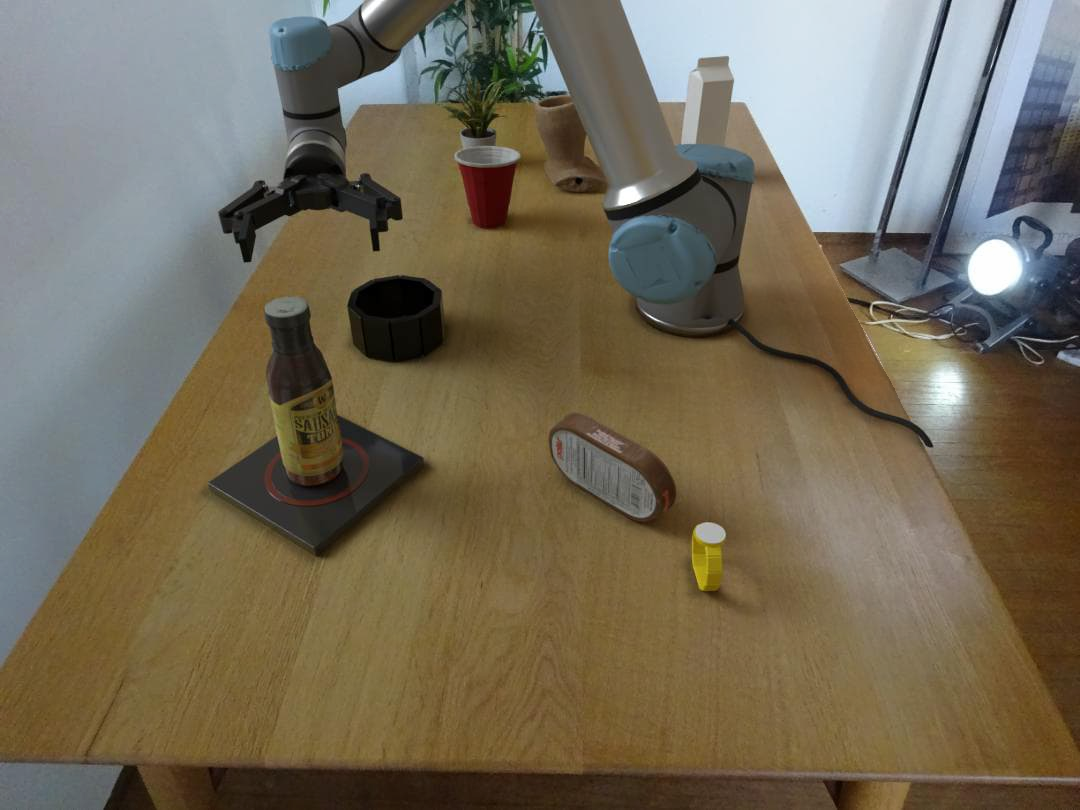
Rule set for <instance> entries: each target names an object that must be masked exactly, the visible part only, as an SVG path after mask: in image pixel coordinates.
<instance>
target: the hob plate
mask: <svg viewBox="0 0 1080 810" xmlns="http://www.w3.org/2000/svg"><path fill="white" fill-rule="evenodd" d="M337 415H338V414H337ZM338 421H339V428H340V434H341V441H342V448H343V466H342V468H341V470H340V472H339V473H338V475H337V476H336V477H335V478H334V479H332V480H330V481H329V482H326V483H324V484H320V485H315V486H301V485H299V484H296V483H294V482H293V481H291V480H290V479H289V477H288V475H287V473H286V471H285V466H284V465H283V461H282V457H281V452H280V447H279V442H278V437H277V435H276V436H274V437H273V438H272V439H269V441H268V442H265V443H264V444H263V445H262V446H260V447H258V448H257V449H255V450H254V451H253V452H251V453H249V454H248V455H246V456H245V457H244V458H242V459H241V460H239V461H237V462H236V463H235V464H233V465H231V466H230V467H228V468H227V469H225V471H223V472H221V473H220V474H218V475H217V476H215V477H214V478H212V479H211V480H210V481H208V482H207V486H208V488H209V491H210V492H211V493H213V494H214V495H216V496H217V497H219V498H221V499H222V500H224V501H226V502H227V503H229V504H231V505H232V506H234V507H236V508H237V509H239V510H240V511H242V512H244V513H245V514H247V515H249V516H250V517H252V518H253V519H255V520H257V521H258V522H259V523H261V524H264V526H266V527H268V528H270V529H271V530H273V531H275V532H276V533H278V534H280V535H281V536H282V537H284V538H286V539H288V540H289V541H291V542H293V543H294V544H296V545H297V546H298V547H301V548H302V549H303V550H305V551H307V552H308V553H310V554H312V555H313V556H315V557H317V556H318V555H319V554H321V553H322V552H323V551H324V550H325V549H327V548H328V547H329V546H330V545H332V544H333V543H334V542H335V541H336V540H337V539H339V538H340V537H341V536H342V535H344V533H346V532H347V531H348V530H350V529H351V528H352V527H353V526H354V525H355V524H357V523H358V522H359V521H360V520H361V519H362V518H364V517H365V516H366V515H368V514H369V513H370V512H371V511H372V510H373V509H375V508H376V507H377V506H378V505H379V504H380V503H382V502H383V501H385V499H387V497H389V496H390V495H391V494H393V492H395V491H396V490H397V489H398V488H399V487H401V486H402V485H403V484H405V483H406V482H407V481H408V480H409V479H410V478H411V477H412V476H414V475H415V474H416V473H418V472H419V471H420V470H421V469H422V468H424V467H425V458H424V457H423V456H421V455H419V454H417V453H415V452H413V451H411V450H409V449H407V448H405V447H403V446H401V445H399V444H397V443H396V442H393V441H391V440H389V439H387V438H385V437H383V436H381V435H379V434H377V433H375V432H373V431H372V430H369V429H366V428H365V427H363V426H361V425H359V424H357V423H355V422H353V421H351V420H348V419H347V418H344V417H343V416H341V415H338Z"/></svg>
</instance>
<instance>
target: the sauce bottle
mask: <svg viewBox="0 0 1080 810" xmlns="http://www.w3.org/2000/svg"><path fill="white" fill-rule="evenodd" d="M263 312H264V320H265V323H266V324H267V325H268V326H269V332H270V338H271V348H272V353H271V355H270V356H269V359H268V361H267V363H266V368H265V377H266V382H267V383H266V384H267V386H268V398H269V402H270V407H271V413H272V418H273V421H274V422H273V423H274V426H275V427H274V428H275V433H276V436H277V437H278V442H279V447H280V452H281V457H282V461H283V465H284V466H285V471H286V473H287V475H288V477H289V479H290V480H291V481H293V482H294V483H296V484H299V485H301V486H315V485H320V484H324V483H326V482H329V481H330V480H332V479H334V478H335V477H336V476H337V475H338V473H339V472H340V470H341V468H342V466H343V448H342V441H341V434H340V428H339V421H338V410H337V404H336V403H337V402H336V397H335V388H334V382H333V376H332V374H331V372H330V369H329V367H328V365H327V362H326V360H325V357H324V355H323V353H322V351H321V349H320V348H318V347H317V345H316V344H315V340H314V339H315V338H314V336H313V334H312V328H311V322H310V320H311V317H312V314H311V309H310V305H309V302H308V301H307V300H306V299H304V298H302V297H299V296H281V297H278V298H275V299H273V300H270V301H269V302H267V303H266V304H265V306H264V309H263Z"/></svg>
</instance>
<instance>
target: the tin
mask: <svg viewBox="0 0 1080 810" xmlns="http://www.w3.org/2000/svg"><path fill="white" fill-rule="evenodd" d="M548 447H549V452H550V457H551V459H552V461H553V463H554V464H555V466H556V467H557V469H558V470H559V471H560V472H561V474H562V475H563V476H564V477H565V478H566V479H567V480H568V481H569V482H571V483H572V484H574V485H575V486H577V487H578V488H580V489H581V490H583V491H585V492H586V493H588V494H589V495H591V496H593V497H594V498H596V499H598V500H599V501H600V502H602V503H604V504H606V505H607V506H609V507H610V508H611V509H613V510H615V511H616V512H618V513H620V514H621V515H623V516H625V517H627V518H628V519H631V520H632V521H635V522H638V523H651V522H654V521H656V520H657V519H658V518H659V517H661V516H662V515H663V514H665V512H666V511H667V510H670V509H671V508H672V507H673V505H675V502H676V499H677V486H676V483H675V480H674V477H673V475H672V472H670V469H669V468H668V467H667V465H666V464H665V463H664V462H663V461H662V460H661V459H660V457H659V456H658V455H657V454H655V453H654V452H653V451H652V450H651V449H649V448H647V447H646V446H644V445H642V444H640V443H638V442H636V441H634V440H633V439H631V438H630V437H628V436H626V435H624V434H622V433H620V432H618V431H616V430H615V429H613V428H612V427H610V426H608V425H606V424H604V423H602V422H601V421H599V420H597V419H595V418H594V417H592V416H590V415H588V414H586V413H582V412H570V413H568V414H566V415H565V416H564V417H563V418H562V419H561V420H559V421H558V422H557V423H556V424H555V425H554V426H552V428H551V429H550V431H549V433H548Z"/></svg>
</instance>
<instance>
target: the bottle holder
mask: <svg viewBox="0 0 1080 810" xmlns="http://www.w3.org/2000/svg"><path fill="white" fill-rule="evenodd" d="M346 308H347V314H348V319H349V325H350V333H351V337H352V338H351V339H352V344H353V346H354V347H355V348H356V349H357V350H358V351H359V352H360V353H362V355H364V357H366V358H368V359H372V360H377V361H378V360H379V361H385V362H389V363H394V362H395V363H400V362H404V361H410V360H415V359H421V358H423V357H426V356H428V355H429V354H430V353H432V352H433V351H435V350H436V349H437V348H439V347H441V346H442V345H443V343H444V339H445V331H446V326H445V315H444V312H445V311H444V301H443V290H442V289H441V288H439V287H438V286H437V285H435V284H434V283H433V282H431V280H429V279H427V278H425V277H420V276H419V277H418V276H411V275H406V274H405V275H404V274H401V275H399V274H395V275H390V276H383V277H377V278H373V279H370V280H368V281H366V282H364V283H363V284H361V285H360V286H357V287H356V288H354V289H352V291H351V292H350V295H349V297H348V301H347V305H346Z"/></svg>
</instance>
